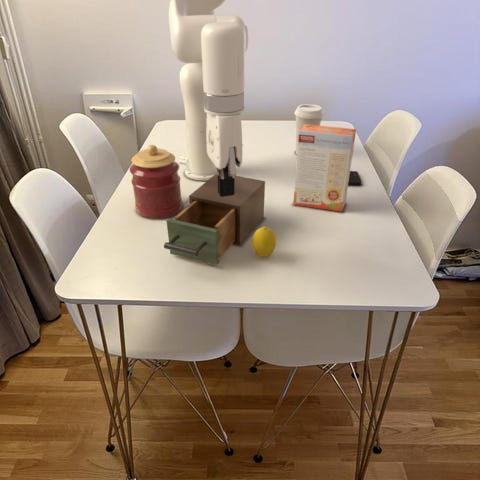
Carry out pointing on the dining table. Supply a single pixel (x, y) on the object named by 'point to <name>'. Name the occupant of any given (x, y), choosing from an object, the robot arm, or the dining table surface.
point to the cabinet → (237, 202)
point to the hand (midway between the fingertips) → (226, 194)
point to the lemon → (264, 241)
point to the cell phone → (354, 178)
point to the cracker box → (323, 166)
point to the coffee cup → (307, 117)
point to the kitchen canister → (156, 183)
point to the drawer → (202, 232)
